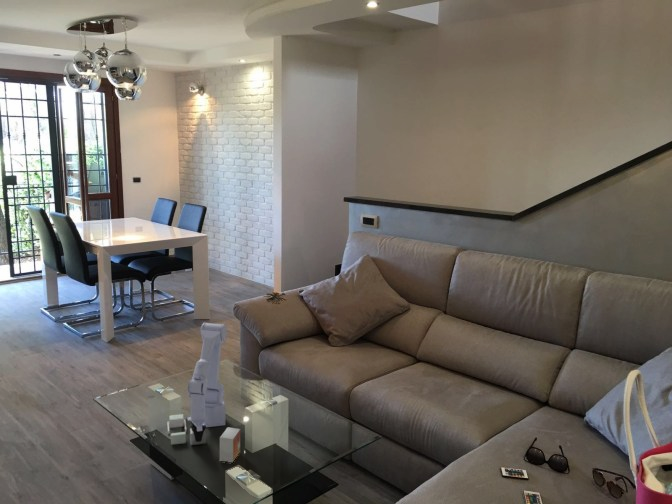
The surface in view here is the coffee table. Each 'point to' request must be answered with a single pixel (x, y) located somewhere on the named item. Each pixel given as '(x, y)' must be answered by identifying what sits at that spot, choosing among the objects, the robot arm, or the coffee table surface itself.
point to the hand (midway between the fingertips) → (198, 438)
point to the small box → (229, 444)
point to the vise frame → (178, 435)
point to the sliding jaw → (176, 421)
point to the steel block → (192, 438)
